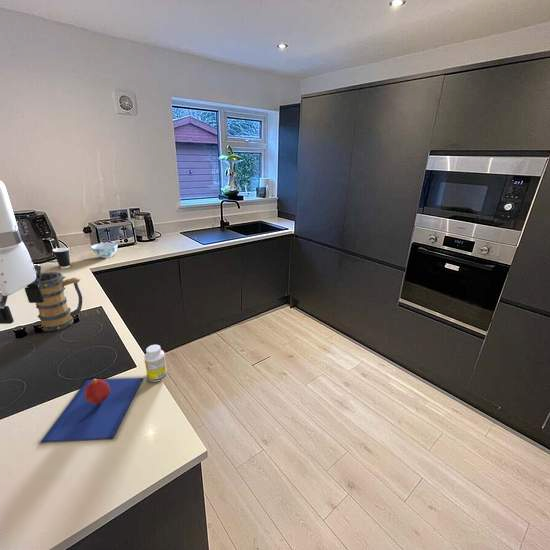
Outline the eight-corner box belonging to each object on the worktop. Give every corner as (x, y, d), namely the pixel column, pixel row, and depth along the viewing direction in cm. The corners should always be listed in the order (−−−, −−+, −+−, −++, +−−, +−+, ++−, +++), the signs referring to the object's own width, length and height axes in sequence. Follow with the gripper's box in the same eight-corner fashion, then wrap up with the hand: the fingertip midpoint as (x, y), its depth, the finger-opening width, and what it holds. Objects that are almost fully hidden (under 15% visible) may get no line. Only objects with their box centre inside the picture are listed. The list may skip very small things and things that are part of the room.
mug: (37, 322, 114) (22, 275, 107) (87, 310, 124) (76, 266, 117) (37, 337, 105) (21, 287, 98) (91, 322, 115) (80, 276, 108)
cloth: (41, 441, 67) (41, 440, 67) (87, 380, 85) (87, 379, 85) (113, 438, 68) (113, 437, 68) (143, 379, 86) (142, 377, 86)
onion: (86, 400, 78) (79, 377, 75) (109, 391, 81) (104, 368, 78) (90, 414, 74) (83, 390, 71) (114, 403, 77) (109, 380, 74)
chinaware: (98, 253, 197) (96, 242, 194) (122, 252, 200) (120, 242, 197) (90, 260, 184) (87, 249, 181) (115, 259, 186) (113, 248, 183)
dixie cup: (76, 265, 176) (72, 247, 172) (66, 269, 168) (62, 251, 164) (63, 264, 176) (59, 247, 172) (53, 269, 169) (48, 251, 164)
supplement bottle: (153, 369, 90) (148, 342, 87) (170, 370, 90) (166, 343, 86) (144, 382, 85) (139, 353, 82) (162, 383, 85) (158, 354, 81)
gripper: (10, 230, 68) (31, 295, 74) (-65, 251, 52) (-30, 333, 58) (44, 230, 68) (62, 295, 75) (-20, 252, 52) (10, 332, 58)
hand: (22, 312), depth 66 cm, fingers open, 9 cm apart
